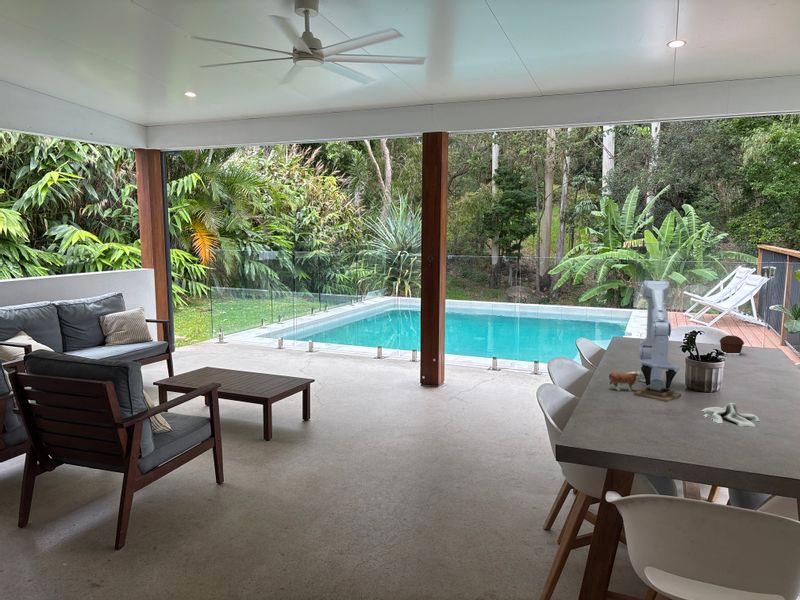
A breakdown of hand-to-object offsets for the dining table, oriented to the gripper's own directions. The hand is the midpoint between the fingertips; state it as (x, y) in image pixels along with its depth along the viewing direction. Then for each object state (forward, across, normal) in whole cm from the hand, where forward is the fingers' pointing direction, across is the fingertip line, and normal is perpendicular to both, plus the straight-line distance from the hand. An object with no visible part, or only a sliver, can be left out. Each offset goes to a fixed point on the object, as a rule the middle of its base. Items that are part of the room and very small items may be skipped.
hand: (657, 386), depth 226 cm
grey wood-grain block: (+3, 0, 0) cm, 3 cm away
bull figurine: (+4, -12, -2) cm, 13 cm away
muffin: (+4, -8, +115) cm, 115 cm away
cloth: (+4, +29, -12) cm, 32 cm away
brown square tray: (+3, 0, 0) cm, 3 cm away
